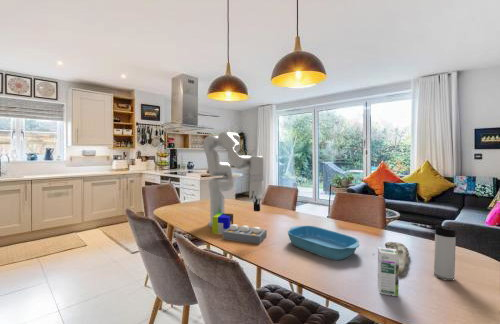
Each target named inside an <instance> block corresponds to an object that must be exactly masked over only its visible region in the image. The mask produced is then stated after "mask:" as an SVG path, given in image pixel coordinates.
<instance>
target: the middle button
mask: <svg viewBox="0 0 500 324" xmlns="http://www.w3.org/2000/svg"><path fill="white" fill-rule="evenodd" d="M240 227H241V232H246V233H248V232H249V228H250V227H249V225H241V226H240Z"/></svg>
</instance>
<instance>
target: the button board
mask: <svg viewBox="0 0 500 324" xmlns="http://www.w3.org/2000/svg"><path fill="white" fill-rule="evenodd" d="M267 232H268V230H267V229H261V228H260V234H254V233H253V227H249V232H248V233H246V232H241V226H238V230H237V231H230V227H229V228H228V229H226V230H225V231H223V234H222V240H229V241H235V242H243V243H249V244H250V243H251V244H258V245H260V244H262V243H263V241H264V240H265V239H266V238H267V237H268V236H267Z"/></svg>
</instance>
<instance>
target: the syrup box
mask: <svg viewBox="0 0 500 324" xmlns="http://www.w3.org/2000/svg"><path fill="white" fill-rule="evenodd" d="M399 278H400V277H399V254H398V252H397V250H396V249H388V248H386V247H380V246H379V247H377V288H378V292H379V294H380V293H381V294H380V295H387V296H391V295H392V297H396V296H397V297H398V298H399V286H400V285H399V281H400V279H399Z"/></svg>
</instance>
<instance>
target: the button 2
mask: <svg viewBox="0 0 500 324" xmlns="http://www.w3.org/2000/svg"><path fill="white" fill-rule="evenodd" d="M252 228H253V233H254V234H260V229H261V227H260V226H253V227H252Z"/></svg>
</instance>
